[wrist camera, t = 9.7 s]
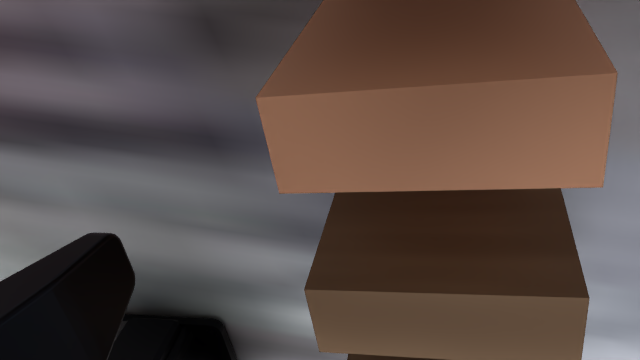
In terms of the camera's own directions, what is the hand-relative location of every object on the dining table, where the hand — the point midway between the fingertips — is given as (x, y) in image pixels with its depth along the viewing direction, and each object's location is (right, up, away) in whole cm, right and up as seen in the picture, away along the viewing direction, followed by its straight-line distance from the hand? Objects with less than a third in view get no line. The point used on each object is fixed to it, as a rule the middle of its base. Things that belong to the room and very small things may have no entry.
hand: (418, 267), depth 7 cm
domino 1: (+2, +6, +9) cm, 11 cm away
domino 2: (+3, +3, +11) cm, 12 cm away
